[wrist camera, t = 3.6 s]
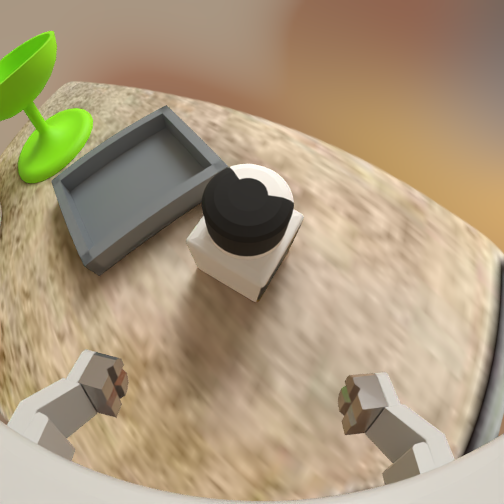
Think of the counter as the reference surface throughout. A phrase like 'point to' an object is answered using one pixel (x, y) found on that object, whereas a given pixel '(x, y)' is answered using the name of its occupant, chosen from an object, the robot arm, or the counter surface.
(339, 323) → the counter surface
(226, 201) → the medicine bottle
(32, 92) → the wineglass
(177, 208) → the parts tray
